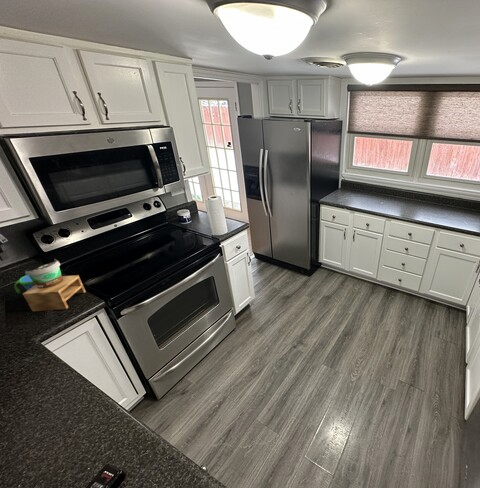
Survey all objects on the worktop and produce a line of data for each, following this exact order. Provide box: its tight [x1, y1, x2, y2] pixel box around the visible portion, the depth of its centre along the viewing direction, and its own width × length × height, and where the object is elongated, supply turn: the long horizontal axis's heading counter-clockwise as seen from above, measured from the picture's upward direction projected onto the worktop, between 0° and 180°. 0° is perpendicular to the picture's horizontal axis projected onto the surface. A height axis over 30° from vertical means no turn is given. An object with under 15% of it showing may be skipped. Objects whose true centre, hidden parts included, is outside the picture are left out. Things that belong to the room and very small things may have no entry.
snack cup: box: [14, 274, 35, 294], centre depth 132 cm, size 16×10×10 cm
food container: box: [24, 258, 63, 288], centre depth 123 cm, size 12×6×10 cm, turn 165°
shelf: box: [22, 274, 87, 312], centre depth 127 cm, size 14×14×10 cm
